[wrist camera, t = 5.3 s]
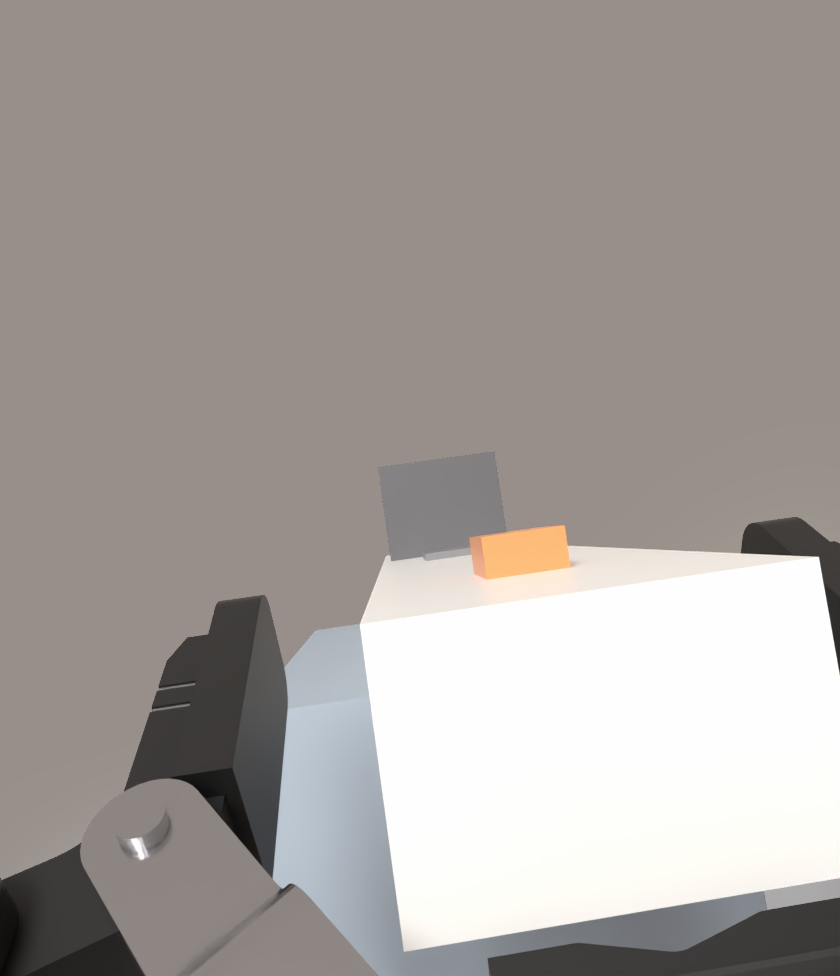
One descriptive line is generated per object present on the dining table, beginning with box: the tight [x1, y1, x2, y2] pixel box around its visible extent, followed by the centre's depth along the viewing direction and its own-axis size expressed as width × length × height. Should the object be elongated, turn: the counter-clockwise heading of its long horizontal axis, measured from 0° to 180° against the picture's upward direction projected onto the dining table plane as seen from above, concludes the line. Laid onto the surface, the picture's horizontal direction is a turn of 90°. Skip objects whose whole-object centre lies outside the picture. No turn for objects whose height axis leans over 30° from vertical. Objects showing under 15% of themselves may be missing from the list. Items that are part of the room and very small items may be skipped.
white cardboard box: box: [360, 452, 840, 952], centre depth 20 cm, size 26×4×6 cm, turn 2°
